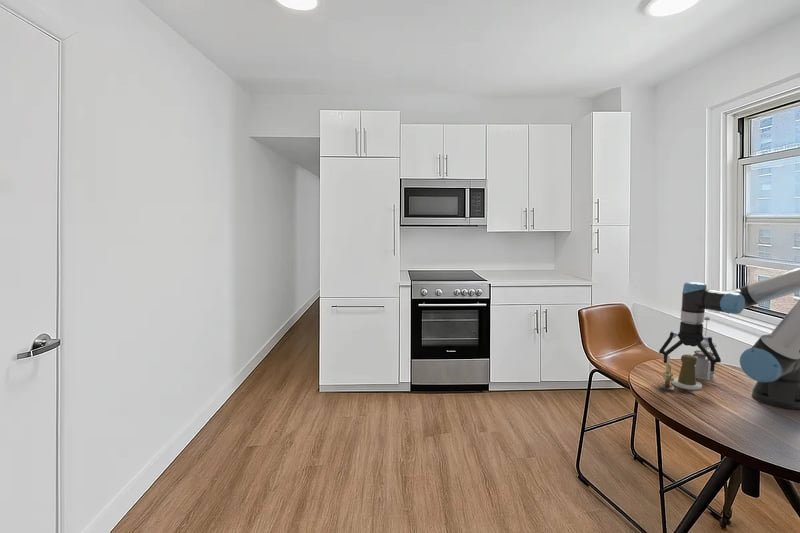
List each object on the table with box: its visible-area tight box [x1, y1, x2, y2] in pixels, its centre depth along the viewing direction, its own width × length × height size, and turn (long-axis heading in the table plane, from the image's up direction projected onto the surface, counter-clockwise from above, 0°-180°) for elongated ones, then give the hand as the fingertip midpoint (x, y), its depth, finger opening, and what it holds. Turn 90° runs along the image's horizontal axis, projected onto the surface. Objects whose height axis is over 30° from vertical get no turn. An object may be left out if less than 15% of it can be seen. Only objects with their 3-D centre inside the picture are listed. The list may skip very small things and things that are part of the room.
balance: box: [659, 363, 675, 393], centre depth 172 cm, size 4×12×11 cm, turn 145°
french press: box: [692, 316, 718, 381], centre depth 187 cm, size 10×12×25 cm
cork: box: [678, 354, 697, 385], centre depth 176 cm, size 6×6×11 cm
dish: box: [671, 377, 703, 391], centre depth 176 cm, size 10×10×1 cm
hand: (687, 375), depth 176 cm, fingers open, 13 cm apart
